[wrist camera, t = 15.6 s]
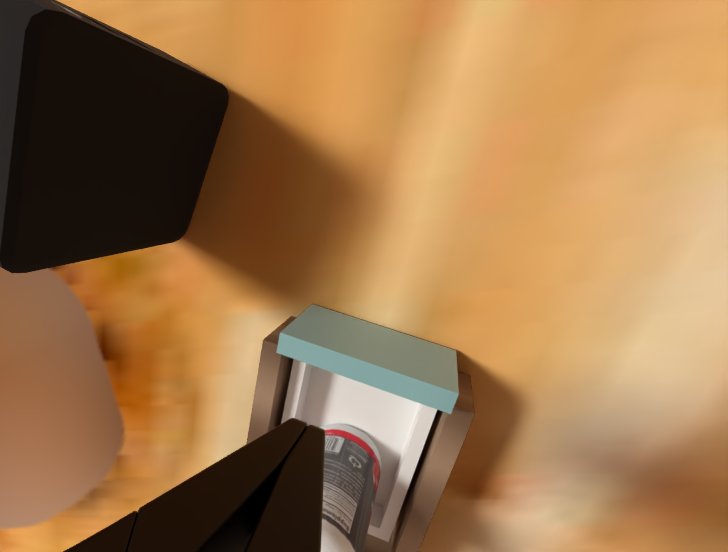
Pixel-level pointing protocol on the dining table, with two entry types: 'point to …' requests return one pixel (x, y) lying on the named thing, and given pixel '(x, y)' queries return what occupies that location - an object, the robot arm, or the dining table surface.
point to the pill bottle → (348, 488)
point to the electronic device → (95, 138)
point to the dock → (430, 466)
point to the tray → (369, 392)
